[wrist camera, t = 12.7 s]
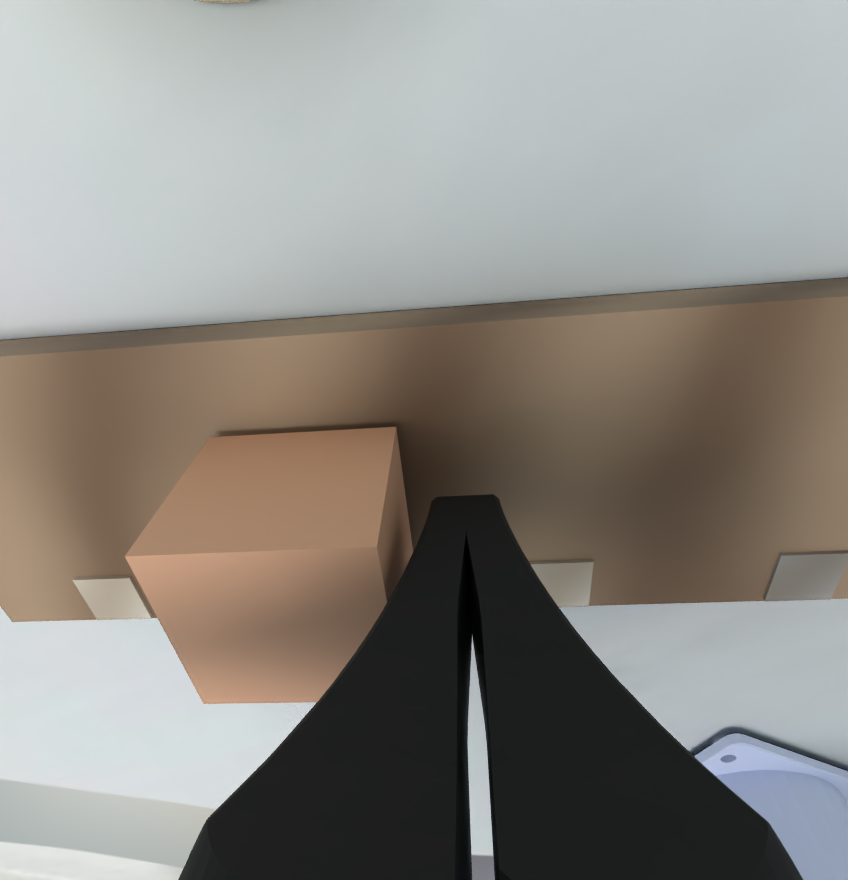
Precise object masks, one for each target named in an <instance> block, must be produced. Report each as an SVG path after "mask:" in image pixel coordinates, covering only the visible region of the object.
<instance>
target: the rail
mask: <svg viewBox="0 0 848 880" xmlns="http://www.w3.org/2000/svg"><path fill="white" fill-rule="evenodd" d="M383 427H396V429H397V436H398V444H399V451H400V458H401V466H402V473H403V480H404V488H405V495H406V503H407V510H408V517H409V525H410V532H411V539H412V547H413V551H414V549H415V547H416V545H417V543H418V540H419V538H420V535H421V533H422V530H423V528H424V525H425V522H426V519H427V516H428V513H429V510H430V505H431V501H432V500H434V499H435V498H436V497H442V496H465V495H488V494H494V495H495V496H496V497H497V498H499V500H500V504H501V507H502V510H503V512H504V515H505V517H506V519H507V522H508V524H509V526H510V528H511V530H512V532H513V534H514V536H515V538H516V540H517V542H518V544H519V545H520V547H521V549H522V551H523V553H524V554H525V556H526V558H527V559H528V561H529V563H530V564H531V566H532V568H533V569H534V571H535V573H536V574H537V576H538V578H539V579H540V581H541V582H542V584H543V585H544V587H545V588H546V590H547V591H548V593H549V594H550V596H551V597H552V598H553V600H554V601H555V603H556V604H557V606H558V607H576V606H593V605H629V604H664V603H700V602H735V601H789V600H825V599H842V598H848V278H838V279H824V280H811V281H797V282H783V283H770V284H756V285H743V286H729V287H716V288H702V289H689V290H675V291H662V292H648V293H635V294H621V295H608V296H594V297H580V298H567V299H553V300H540V301H526V302H513V303H499V304H486V305H472V306H459V307H445V308H432V309H418V310H404V311H391V312H377V313H364V314H350V315H337V316H323V317H310V318H296V319H283V320H269V321H256V322H242V323H229V324H215V325H201V326H188V327H174V328H161V329H147V330H134V331H120V332H107V333H93V334H80V335H66V336H53V337H39V338H25V339H12V340H0V606H1V608H2V609H3V610H4V612H5V613H6V614H7V616H8V617H9V618H10V619H11V621H12V622H25V621H61V620H96V619H97V620H113V619H149V618H157V616H156V614H155V612H154V610H153V608H152V606H151V605H150V603H149V601H148V599H147V597H146V595H145V593H144V592H143V590H142V588H141V586H140V584H139V582H138V580H137V578H136V577H135V575H134V573H133V571H132V569H131V567H130V565H129V564H128V562H127V560H126V558H125V555H126V554H127V552H128V551H129V550H130V548H131V547H132V545H133V544H134V542H135V541H136V540H137V538H138V537H139V535H140V534H141V533H142V531H143V530H144V528H145V527H146V526H147V524H148V523H149V521H150V520H151V519H152V517H153V516H154V514H155V513H156V512H157V510H158V509H159V507H160V506H161V505H162V503H163V502H164V500H165V499H166V497H167V496H168V495H169V493H170V492H171V490H172V489H173V488H174V486H175V485H176V483H177V482H178V481H179V479H180V478H181V476H182V475H183V474H184V472H185V471H186V469H187V468H188V467H189V465H190V464H191V462H192V461H193V460H194V458H195V457H196V455H197V454H198V453H199V451H200V450H201V448H202V447H203V445H204V444H205V443H206V441H207V440H208V438H209V437H223V436H241V435H259V434H276V433H294V432H312V431H330V430H348V429H365V428H383Z"/></svg>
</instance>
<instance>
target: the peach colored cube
mask: <svg viewBox="0 0 848 880" xmlns="http://www.w3.org/2000/svg"><path fill="white" fill-rule="evenodd" d="M412 554H413V547H412V539H411V532H410V525H409V517H408V510H407V503H406V495H405V488H404V480H403V473H402V466H401V458H400V451H399V444H398V436H397V429H396V427H383V428H365V429H348V430H330V431H312V432H294V433H276V434H259V435H241V436H223V437H209V438H208V440H207V441H206V443H205V444H204V445H203V447H202V448H201V450H200V451H199V453H198V454H197V455H196V457H195V458H194V460H193V461H192V462H191V464H190V465H189V467H188V468H187V469H186V471H185V472H184V474H183V475H182V476H181V478H180V479H179V481H178V482H177V483H176V485H175V486H174V488H173V489H172V490H171V492H170V493H169V495H168V496H167V497H166V499H165V500H164V502H163V503H162V505H161V506H160V507H159V509H158V510H157V512H156V513H155V514H154V516H153V517H152V519H151V520H150V521H149V523H148V524H147V526H146V527H145V528H144V530H143V531H142V533H141V534H140V535H139V537H138V538H137V540H136V541H135V542H134V544H133V545H132V547H131V548H130V550H129V551H128V552H127V554H126V555H125V558H126V560H127V562H128V564H129V565H130V567H131V569H132V571H133V573H134V575H135V577H136V578H137V580H138V582H139V584H140V586H141V588H142V590H143V592H144V593H145V595H146V597H147V599H148V601H149V603H150V605H151V606H152V608H153V610H154V612H155V614H156V616H157V618H158V620H159V621H160V623H161V625H162V627H163V629H164V631H165V633H166V634H167V636H168V638H169V640H170V642H171V644H172V646H173V648H174V649H175V651H176V653H177V655H178V657H179V659H180V661H181V662H182V664H183V666H184V668H185V670H186V672H187V674H188V676H189V677H190V679H191V681H192V683H193V685H194V687H195V689H196V690H197V692H198V694H199V696H200V698H201V700H202V702H203V704H219V703H288V702H318V701H319V699H320V698H321V697H322V696H323V695H324V693H325V692H326V691H327V689H328V688H329V687H330V686H331V684H332V683H333V682H334V680H335V679H336V678H337V676H338V675H339V674H340V672H341V671H342V670H343V668H344V667H345V666H346V664H347V663H348V662H349V660H350V659H351V658H352V656H353V655H354V654H355V652H356V651H357V649H358V648H359V646H360V645H361V643H362V642H363V640H364V639H365V637H366V636H367V634H368V633H369V631H370V630H371V628H372V627H373V625H374V624H375V622H376V620H377V619H378V617H379V615H380V614H381V612H382V611H383V609H384V607H385V605H386V604H387V602H388V600H389V598H390V596H391V595H392V593H393V591H394V589H395V587H396V586H397V584H398V582H399V580H400V578H401V576H402V574H403V573H404V571H405V568H406V566H407V564H408V562H409V560H410V558H411V556H412Z"/></svg>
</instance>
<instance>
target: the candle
mask: <svg viewBox="0 0 848 880" xmlns="http://www.w3.org/2000/svg"><path fill="white" fill-rule="evenodd" d="M195 1H199V2H209V3H221V4H226V3H238V2H248V1H253V0H195Z"/></svg>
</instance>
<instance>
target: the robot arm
mask: <svg viewBox="0 0 848 880" xmlns="http://www.w3.org/2000/svg"><path fill="white" fill-rule="evenodd" d="M472 636H473V643H474V650H475V657H476V664H477V671H478V678H479V685H480V692H481V699H482V706H483V714H484V721H485V730H486V740H487V751H488V769H489V786H490V803H491V820H492V837H493V854H494V871H495V880H848V771H846V770H843V769H840V768H837V767H834V766H831V765H829V764H826V763H823V762H820V761H817V760H814V759H812V758H809V757H806V756H803V755H800V754H797V753H795V752H792V751H789V750H786V749H783V748H780V747H778V746H775V745H772V744H769V743H766V742H763V741H761V740H758V739H755V738H752V737H749V736H746V735H744V734H739V733H737V734H729V735H726V736H724V737H723V738H721V739H720V740H718V741H717V742H715V743H713V744H712V745H710V746H709V747H707V748H706V749H704V750H703V751H701V752H700V753H698V754H697V755H695V756H693V755H692V754H691V753H690V752H689V751H688V750H687V749H686V748H685V747H683V746H682V745H681V744H680V743H679V742H678V741H677V740H676V739H675V738H674V737H673V736H672V735H671V734H670V733H669V732H668V731H667V730H666V729H665V728H664V727H662V726H661V725H660V723H659V722H658V721H657V720H656V719H655V718H654V717H653V716H652V715H651V714H650V713H649V712H648V711H647V710H646V709H645V708H644V707H643V706H642V705H641V704H640V703H639V702H638V701H637V700H636V698H635V697H634V696H633V695H632V694H631V693H630V692H629V691H628V690H627V689H626V688H625V687H624V686H623V685H622V684H621V683H620V682H619V681H618V680H617V679H616V678H615V676H614V675H613V674H612V673H611V672H610V671H609V670H608V668H607V667H606V666H605V665H604V664H603V663H602V661H601V660H600V659H599V658H598V657H597V656H596V655H595V653H594V652H593V651H592V650H591V649H590V647H589V646H588V645H587V644H586V642H585V641H584V640H583V639H582V637H581V636H580V635H579V634H578V632H577V631H576V630H575V629H574V627H573V626H572V625H571V623H570V622H569V621H568V619H567V618H566V617H565V615H564V614H563V613H562V611H561V610H560V609H559V607H558V606H557V604H556V603H555V601H554V600H553V598H552V597H551V596H550V594H549V593H548V591H547V590H546V588H545V587H544V585H543V584H542V582H541V581H540V579H539V578H538V576H537V574H536V573H535V571H534V569H533V568H532V566H531V564H530V563H529V561H528V559H527V558H526V556H525V554H524V553H523V551H522V549H521V547H520V545H519V544H518V542H517V540H516V538H515V536H514V534H513V532H512V530H511V528H510V526H509V524H508V522H507V519H506V517H505V515H504V512H503V510H502V507H501V504H500V500H499V498H497V497H496V496H495V495H494V494H488V495H465V496H442V497H436V498H435V499H434V500H432V501H431V505H430V510H429V513H428V516H427V519H426V522H425V525H424V528H423V530H422V533H421V535H420V538H419V540H418V543H417V545H416V547H415V549H414V551H413V554H412V556H411V558H410V560H409V562H408V564H407V566H406V568H405V571H404V573H403V574H402V576H401V578H400V580H399V582H398V584H397V586H396V587H395V589H394V591H393V593H392V595H391V596H390V598H389V600H388V602H387V604H386V605H385V607H384V609H383V611H382V612H381V614H380V615H379V617H378V619H377V620H376V622H375V624H374V625H373V627H372V628H371V630H370V631H369V633H368V634H367V636H366V637H365V639H364V640H363V642H362V643H361V645H360V646H359V648H358V649H357V651H356V652H355V654H354V655H353V656H352V658H351V659H350V660H349V662H348V663H347V664H346V666H345V667H344V668H343V670H342V671H341V672H340V674H339V675H338V676H337V678H336V679H335V680H334V682H333V683H332V684H331V686H330V687H329V688H328V689H327V691H326V692H325V693H324V695H323V696H322V697H321V698H320V699H319V701H318V702H317V703H316V704H315V706H314V707H313V708H312V709H311V710H310V711H309V712H308V714H307V715H306V716H305V717H304V718H303V719H302V720H301V722H300V723H299V724H298V725H297V726H296V727H295V728H294V730H293V731H292V732H291V733H290V734H289V735H288V736H287V738H286V739H285V740H284V741H283V742H282V743H281V744H280V746H279V747H278V748H277V749H276V750H275V751H274V752H273V753H272V754H271V755H270V756H269V757H268V759H267V760H266V761H265V762H264V763H263V764H262V765H261V766H260V767H259V768H258V769H257V770H256V771H255V772H254V773H253V774H252V775H251V776H250V777H249V778H248V779H247V780H246V781H245V782H244V783H243V784H242V785H241V786H240V787H239V788H238V789H237V790H236V791H235V792H234V793H233V794H232V795H231V796H230V797H229V798H228V799H227V800H226V801H225V802H224V803H223V804H222V805H221V806H220V807H219V808H218V809H217V810H216V811H215V812H214V813H213V814H212V815H211V816H210V817H209V818H208V819H207V820H206V822H205V824H204V826H203V828H202V830H201V832H200V834H199V836H198V838H197V840H196V842H195V845H194V847H193V849H192V851H191V853H190V855H189V858H188V860H187V862H186V865H185V867H184V869H183V871H182V873H181V875H180V877H179V880H472V865H471V864H472V863H471V835H470V808H469V779H468V750H467V736H468V705H469V684H470V664H471V643H472Z"/></svg>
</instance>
